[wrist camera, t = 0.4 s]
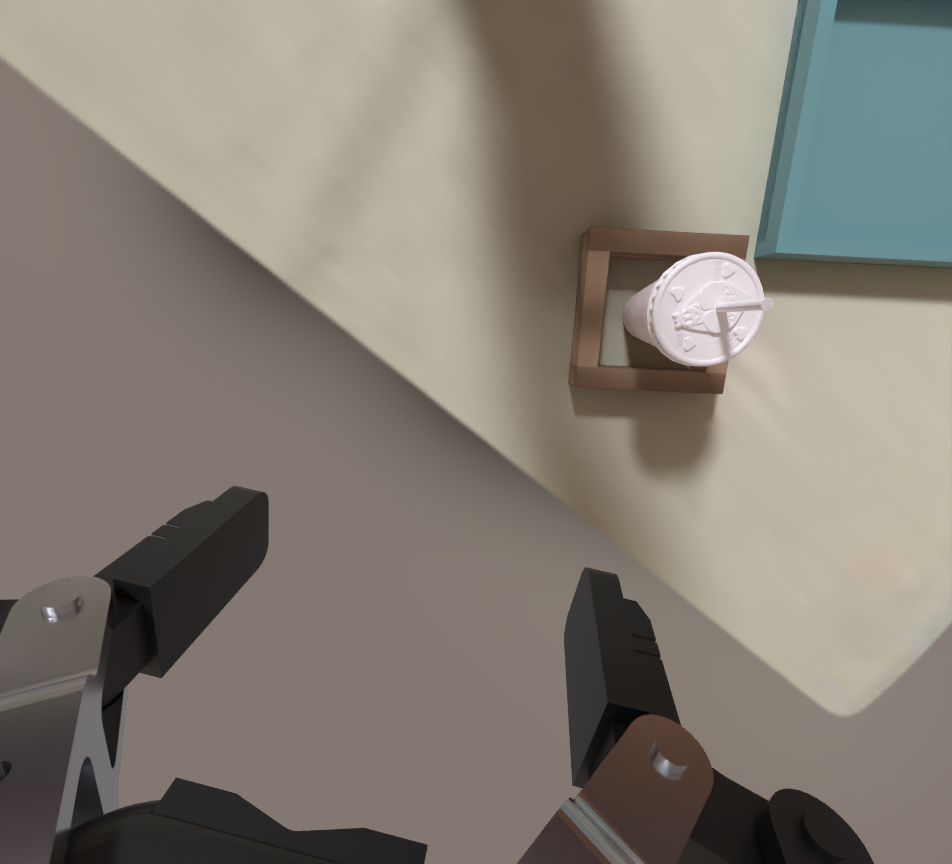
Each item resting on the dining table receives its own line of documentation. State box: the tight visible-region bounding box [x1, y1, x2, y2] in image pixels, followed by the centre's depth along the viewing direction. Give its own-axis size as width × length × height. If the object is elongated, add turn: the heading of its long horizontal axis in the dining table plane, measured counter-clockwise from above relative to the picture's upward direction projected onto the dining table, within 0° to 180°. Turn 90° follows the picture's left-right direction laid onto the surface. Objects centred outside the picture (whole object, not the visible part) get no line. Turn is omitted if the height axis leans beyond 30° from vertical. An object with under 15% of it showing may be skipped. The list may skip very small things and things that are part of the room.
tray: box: [754, 0, 952, 268], centre depth 31 cm, size 17×17×2 cm
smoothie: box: [623, 252, 773, 367], centre depth 29 cm, size 6×6×14 cm
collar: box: [569, 227, 749, 394], centre depth 34 cm, size 11×11×2 cm
